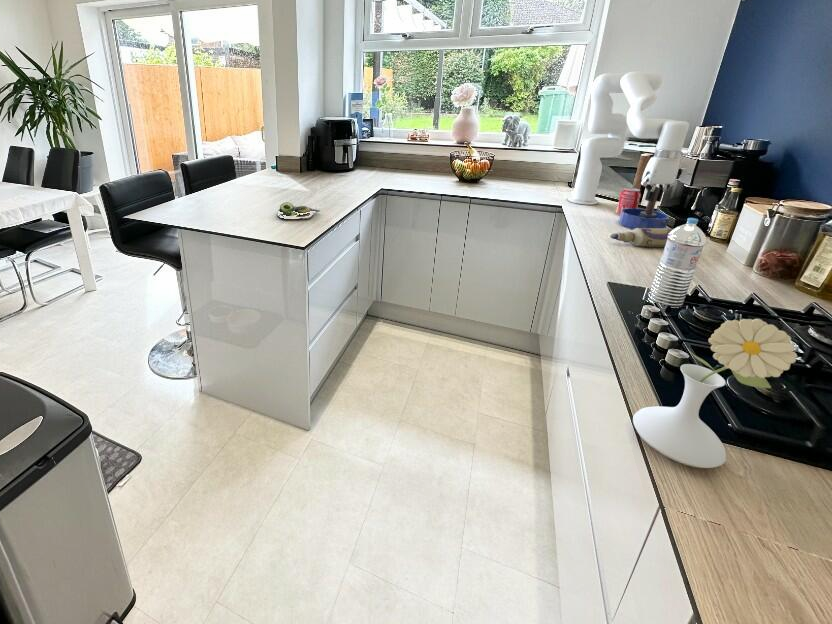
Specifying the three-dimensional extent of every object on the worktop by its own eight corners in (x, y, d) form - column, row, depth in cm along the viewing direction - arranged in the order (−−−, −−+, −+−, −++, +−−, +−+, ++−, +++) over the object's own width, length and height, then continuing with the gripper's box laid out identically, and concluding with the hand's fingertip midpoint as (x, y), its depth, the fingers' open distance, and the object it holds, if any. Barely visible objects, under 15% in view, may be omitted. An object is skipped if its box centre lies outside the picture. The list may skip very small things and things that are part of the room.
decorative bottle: (678, 243, 146) (684, 226, 144) (693, 251, 139) (700, 233, 137) (602, 240, 150) (607, 223, 147) (613, 247, 143) (618, 230, 140)
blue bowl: (610, 220, 172) (613, 208, 170) (645, 220, 172) (649, 208, 170) (636, 232, 158) (640, 219, 156) (674, 232, 157) (678, 219, 155)
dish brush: (634, 220, 165) (645, 185, 159) (646, 220, 165) (658, 185, 159) (644, 224, 160) (655, 188, 154) (657, 224, 160) (668, 188, 154)
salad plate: (320, 209, 190) (320, 200, 189) (319, 220, 174) (318, 210, 172) (280, 209, 191) (280, 199, 190) (275, 220, 175) (274, 210, 173)
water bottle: (662, 304, 105) (693, 214, 97) (685, 318, 99) (721, 223, 90) (637, 305, 105) (666, 214, 96) (659, 318, 99) (692, 223, 90)
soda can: (628, 213, 181) (635, 187, 177) (638, 217, 175) (646, 191, 171) (611, 212, 182) (618, 187, 178) (621, 217, 176) (628, 190, 171)
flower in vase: (616, 433, 66) (662, 302, 57) (648, 407, 72) (694, 283, 63) (720, 498, 56) (795, 350, 47) (748, 461, 61) (820, 322, 52)
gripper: (679, 152, 155) (665, 198, 162) (638, 152, 156) (625, 198, 162) (696, 155, 148) (680, 203, 155) (653, 156, 149) (639, 203, 155)
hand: (652, 200), depth 159 cm, fingers closed on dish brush, 2 cm apart
